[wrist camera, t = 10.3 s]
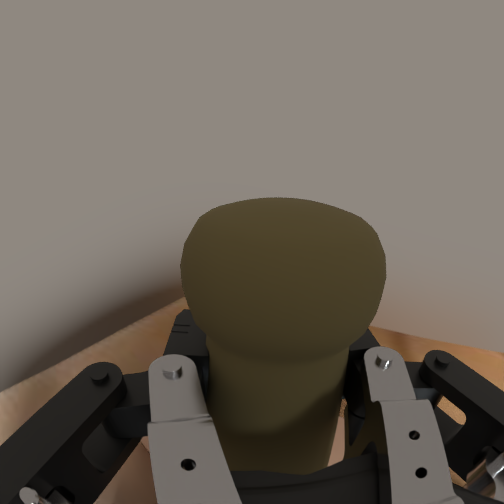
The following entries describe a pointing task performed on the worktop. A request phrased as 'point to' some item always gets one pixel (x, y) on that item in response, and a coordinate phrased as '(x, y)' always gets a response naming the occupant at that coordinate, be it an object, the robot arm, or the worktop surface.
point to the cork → (280, 323)
